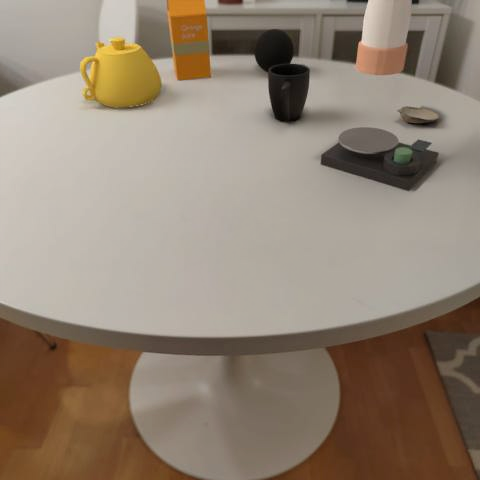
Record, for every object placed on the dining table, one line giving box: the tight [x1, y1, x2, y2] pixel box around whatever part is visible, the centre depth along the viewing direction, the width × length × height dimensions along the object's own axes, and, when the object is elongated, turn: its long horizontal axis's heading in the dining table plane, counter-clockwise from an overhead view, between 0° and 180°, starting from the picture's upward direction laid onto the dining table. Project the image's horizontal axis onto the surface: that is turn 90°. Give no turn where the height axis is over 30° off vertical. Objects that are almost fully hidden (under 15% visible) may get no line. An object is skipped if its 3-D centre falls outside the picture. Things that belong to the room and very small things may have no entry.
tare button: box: [394, 147, 412, 164], centre depth 73 cm, size 3×3×2 cm
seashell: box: [396, 106, 440, 124], centre depth 92 cm, size 8×3×8 cm
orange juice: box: [166, 0, 212, 81], centre depth 114 cm, size 8×9×20 cm
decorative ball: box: [253, 28, 295, 73], centre depth 116 cm, size 10×10×10 cm
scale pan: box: [337, 126, 433, 154], centre depth 77 cm, size 14×10×1 cm
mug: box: [267, 63, 311, 123], centre depth 92 cm, size 8×12×10 cm
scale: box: [320, 142, 440, 192], centre depth 78 cm, size 16×12×4 cm
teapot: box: [79, 36, 163, 108], centre depth 105 cm, size 20×19×13 cm
